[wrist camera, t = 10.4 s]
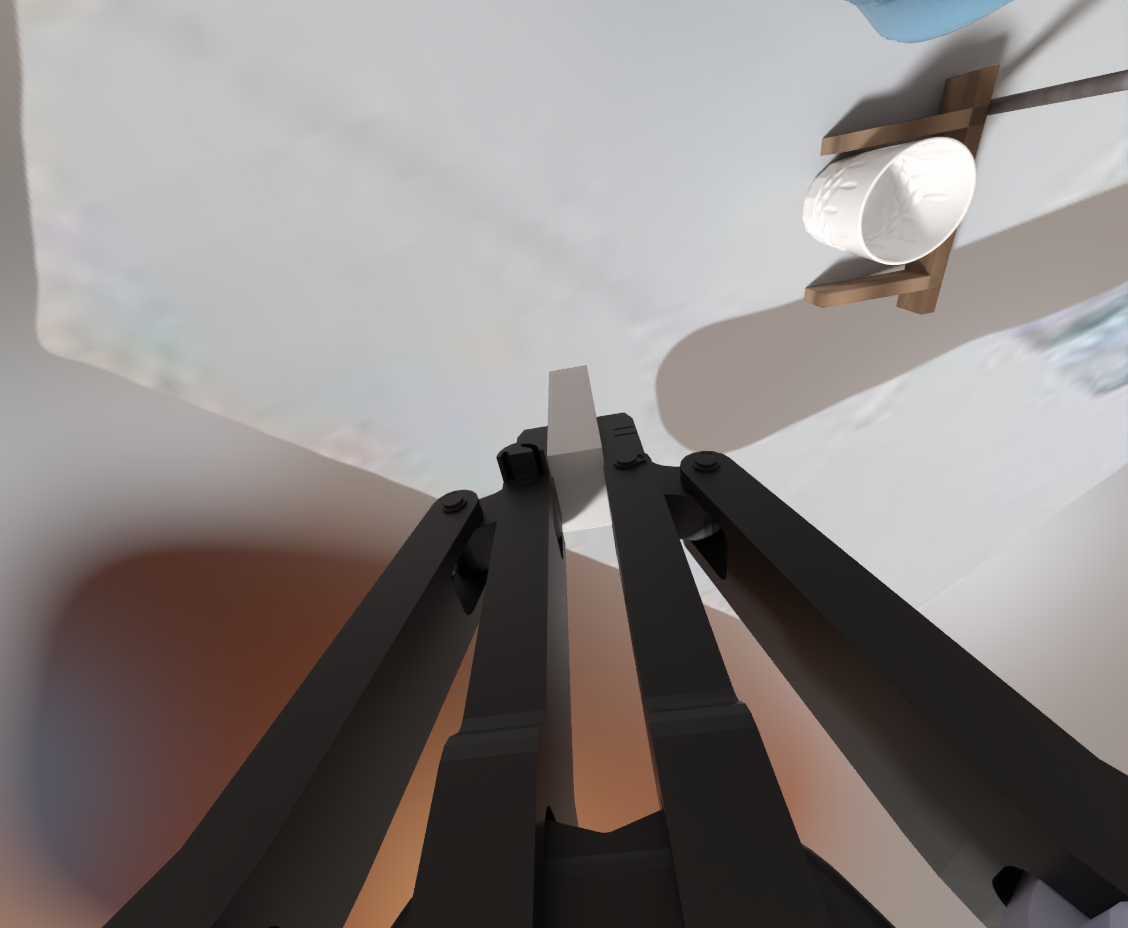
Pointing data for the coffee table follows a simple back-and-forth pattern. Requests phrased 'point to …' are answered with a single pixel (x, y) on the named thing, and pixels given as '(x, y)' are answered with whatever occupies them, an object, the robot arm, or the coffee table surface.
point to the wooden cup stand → (965, 123)
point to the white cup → (892, 200)
